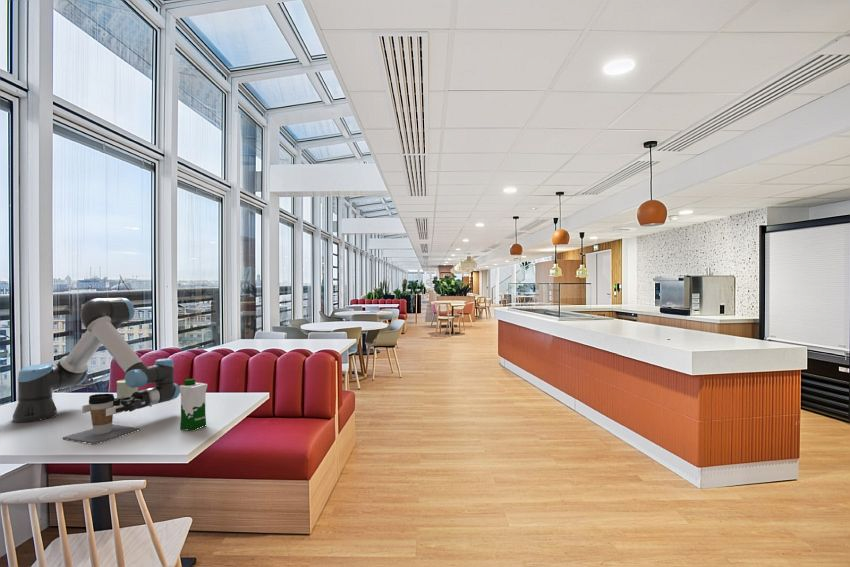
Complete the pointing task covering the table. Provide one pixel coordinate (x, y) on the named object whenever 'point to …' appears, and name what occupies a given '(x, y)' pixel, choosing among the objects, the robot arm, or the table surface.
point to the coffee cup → (101, 413)
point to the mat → (94, 439)
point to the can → (124, 389)
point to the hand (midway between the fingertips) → (94, 410)
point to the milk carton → (192, 404)
